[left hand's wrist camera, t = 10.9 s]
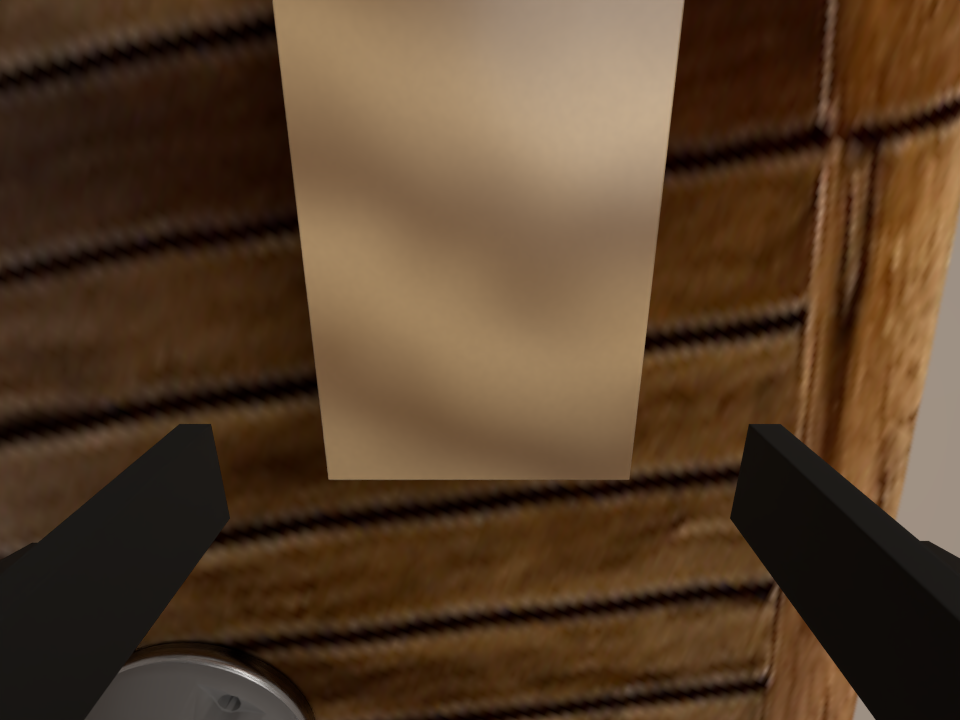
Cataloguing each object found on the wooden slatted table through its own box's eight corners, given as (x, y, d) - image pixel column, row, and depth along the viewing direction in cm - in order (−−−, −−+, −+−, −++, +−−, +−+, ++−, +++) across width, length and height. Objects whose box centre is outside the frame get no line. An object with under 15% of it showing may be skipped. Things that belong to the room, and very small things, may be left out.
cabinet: (334, -84, 20) (241, -249, 12) (622, -85, 20) (713, -249, 12) (372, 391, 27) (328, 480, 19) (586, 391, 27) (629, 480, 19)
